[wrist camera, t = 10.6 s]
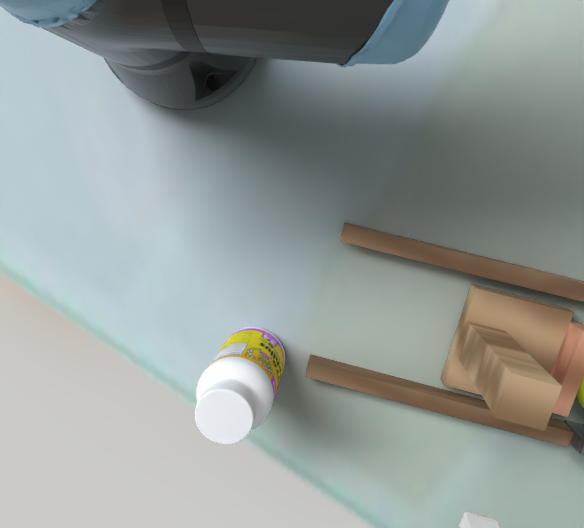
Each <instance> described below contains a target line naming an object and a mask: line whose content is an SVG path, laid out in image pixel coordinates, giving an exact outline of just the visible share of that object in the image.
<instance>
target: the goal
mask: <svg viewBox="0 0 584 528" xmlns="http://www.w3.org/2000/svg"><path fill="white" fill-rule="evenodd" d="M564 422H565V423H566V425H567V426H568V427H569V428H570V429H571V430H572V431H573V432H574V433H573V436H572V438H571V441H570V442H571V444H572V445H573V446H574V447H575V448H576V449H577V451H578V452H579V453H580V454H582V455H584V425H582V424H578V423H575V422H571V421H567V420H564Z"/></svg>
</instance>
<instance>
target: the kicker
mask: <svg viewBox="0 0 584 528" xmlns="http://www.w3.org/2000/svg"><path fill="white" fill-rule="evenodd" d="M573 314H574V312H572V311H570V310H569V309H567V308H564V307H560V306H556V305H552V304H548V303H544V302H540V301H536V300H532V299H528V298H524V297H520V296H516V295H512V294H508V293H504V292H500V291H496V290H492V289H488V288H484V287H480V286H476V285H471V288H470V291H469V294H468V297H467V300H466V303H465V306H464V309H463V312H462V315H461V318H460V321H459V324H458V327H457V330H456V333H455V336H454V340H453V343H452V346H451V349H450V352H449V355H448V358H447V361H446V364H445V367H444V370H443V373H442V376H441V380H442V382H443V384H444V385H445V386H449V387H453V388H456V389H460V390H464V391H468V392H471V393H475V394H479V395H482V397H483V399H484V400H485V402H486V403H487V405H488V407H489V408H490V410H491V411H492V413H493V415H494V416H495V418H498V419H502V420H506V421H509V422H513V423H517V424H521V425H524V426H528V427H532V428H536V429H539V430H543V431H545V429H546V427H547V424H548V422H549V419H550V417H551V414H552V413H554V414H558V415H561V416H565V417H568V415H569V412H570V410H571V408H572V405H573V403H574V400H575V398H576V395H577V393H578V390H579V388H580V385H581V383H582V380H583V378H584V325H583V324H581V323H579V322H577V321H573V320H572V317H573Z"/></svg>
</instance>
